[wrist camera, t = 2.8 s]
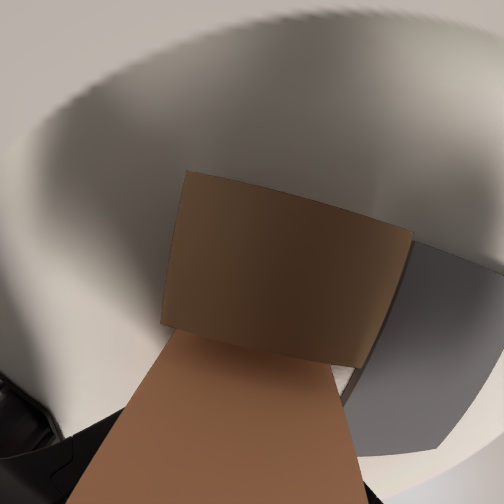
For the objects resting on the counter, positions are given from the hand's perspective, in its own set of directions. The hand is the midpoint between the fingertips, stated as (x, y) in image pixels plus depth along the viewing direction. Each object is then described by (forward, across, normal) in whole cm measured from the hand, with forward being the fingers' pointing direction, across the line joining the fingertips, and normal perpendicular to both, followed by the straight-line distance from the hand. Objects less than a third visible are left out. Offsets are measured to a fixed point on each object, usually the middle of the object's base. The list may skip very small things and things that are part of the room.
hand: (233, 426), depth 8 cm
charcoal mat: (+2, -8, -2) cm, 8 cm away
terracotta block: (+2, 0, 0) cm, 2 cm away
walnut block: (+2, 0, -5) cm, 6 cm away
